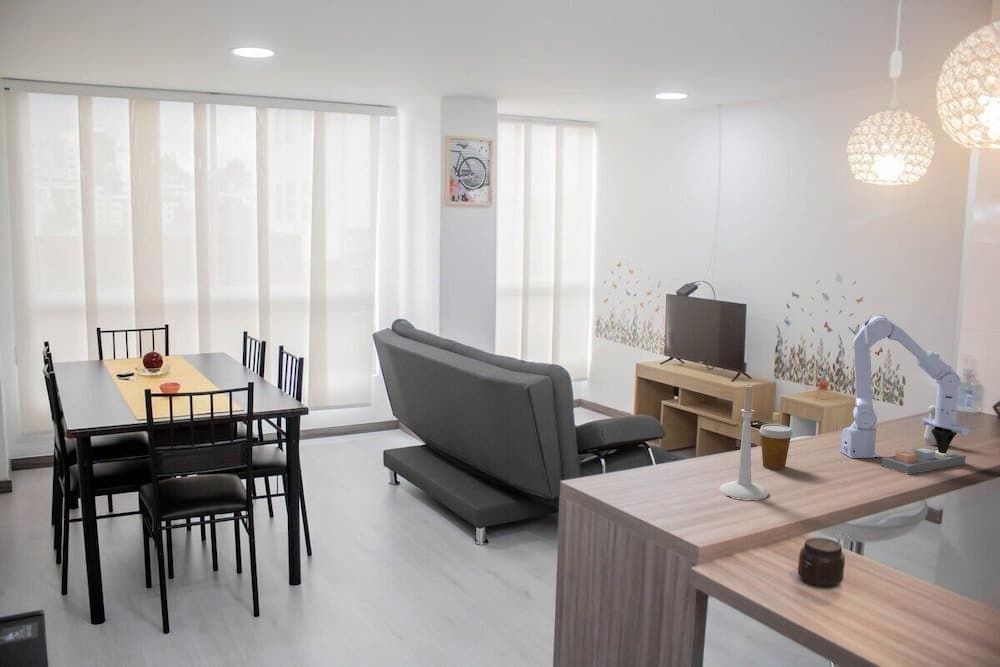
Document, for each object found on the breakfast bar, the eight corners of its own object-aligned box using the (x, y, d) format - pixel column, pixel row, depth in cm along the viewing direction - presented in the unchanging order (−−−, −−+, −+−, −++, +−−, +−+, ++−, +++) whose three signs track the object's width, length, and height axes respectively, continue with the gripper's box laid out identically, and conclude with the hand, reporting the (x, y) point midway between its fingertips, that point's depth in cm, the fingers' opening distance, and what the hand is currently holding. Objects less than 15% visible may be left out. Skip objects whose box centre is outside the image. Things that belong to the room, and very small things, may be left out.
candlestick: (778, 495, 223) (784, 386, 219) (744, 503, 217) (749, 391, 213) (743, 482, 234) (748, 377, 230) (709, 489, 228) (713, 382, 224)
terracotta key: (906, 464, 245) (907, 456, 245) (895, 460, 248) (895, 452, 248) (916, 462, 247) (916, 454, 246) (904, 458, 250) (905, 451, 250)
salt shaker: (946, 446, 271) (949, 407, 270) (928, 446, 272) (931, 407, 270) (937, 441, 277) (940, 403, 275) (919, 441, 277) (922, 403, 275)
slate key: (925, 460, 248) (926, 453, 248) (913, 457, 252) (914, 449, 251) (934, 459, 250) (935, 451, 250) (922, 455, 253) (923, 448, 253)
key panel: (907, 474, 242) (908, 466, 241) (881, 466, 250) (882, 458, 250) (965, 464, 252) (965, 456, 252) (938, 456, 260) (939, 448, 260)
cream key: (943, 462, 252) (943, 454, 251) (931, 459, 255) (932, 451, 255) (952, 460, 253) (952, 453, 253) (940, 457, 257) (941, 449, 257)
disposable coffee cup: (779, 473, 242) (781, 433, 241) (750, 465, 250) (752, 427, 248) (797, 467, 248) (799, 428, 247) (768, 460, 256) (770, 422, 254)
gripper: (977, 412, 247) (973, 457, 249) (933, 402, 260) (930, 445, 262) (961, 415, 244) (957, 459, 246) (918, 405, 257) (914, 447, 259)
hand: (942, 452), depth 254 cm, fingers closed, pressing on cream key
